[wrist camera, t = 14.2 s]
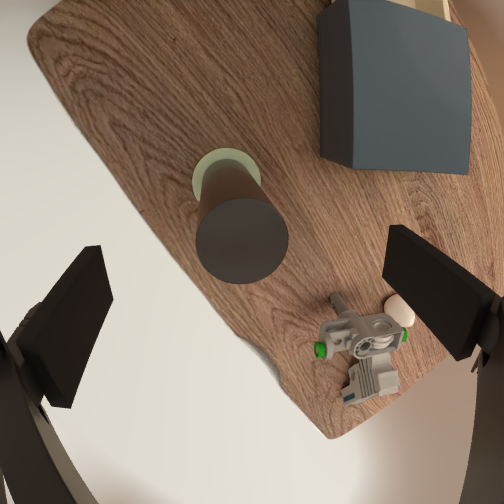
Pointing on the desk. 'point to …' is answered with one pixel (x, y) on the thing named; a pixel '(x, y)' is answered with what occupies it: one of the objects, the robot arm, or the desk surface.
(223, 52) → the desk surface
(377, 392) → the toy gun
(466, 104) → the cabinet
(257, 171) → the coaster
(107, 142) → the desk surface
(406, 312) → the egg
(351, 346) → the mechanical component
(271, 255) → the dark brown cylinder
